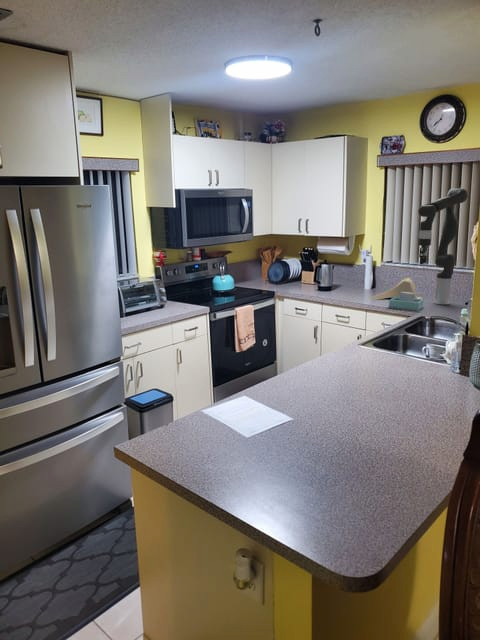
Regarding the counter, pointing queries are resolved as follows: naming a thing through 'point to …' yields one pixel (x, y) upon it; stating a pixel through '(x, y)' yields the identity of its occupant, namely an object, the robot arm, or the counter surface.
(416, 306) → the tote
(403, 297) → the medicine box
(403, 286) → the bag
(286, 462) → the counter surface
